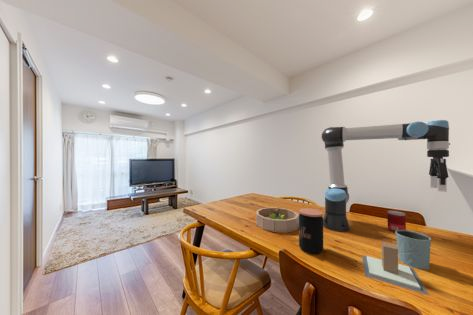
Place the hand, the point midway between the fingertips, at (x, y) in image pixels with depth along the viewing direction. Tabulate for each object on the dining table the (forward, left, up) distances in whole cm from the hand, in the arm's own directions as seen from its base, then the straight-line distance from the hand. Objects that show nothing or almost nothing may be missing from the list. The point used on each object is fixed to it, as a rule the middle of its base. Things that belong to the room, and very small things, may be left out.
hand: (437, 189), depth 91 cm
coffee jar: (-55, -48, -27) cm, 78 cm away
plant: (-80, -26, -28) cm, 88 cm away
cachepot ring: (-80, -26, -27) cm, 88 cm away
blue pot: (-18, -37, -27) cm, 49 cm away
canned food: (-16, +3, -27) cm, 32 cm away
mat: (-27, -50, -27) cm, 62 cm away
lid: (-27, -50, -26) cm, 62 cm away
